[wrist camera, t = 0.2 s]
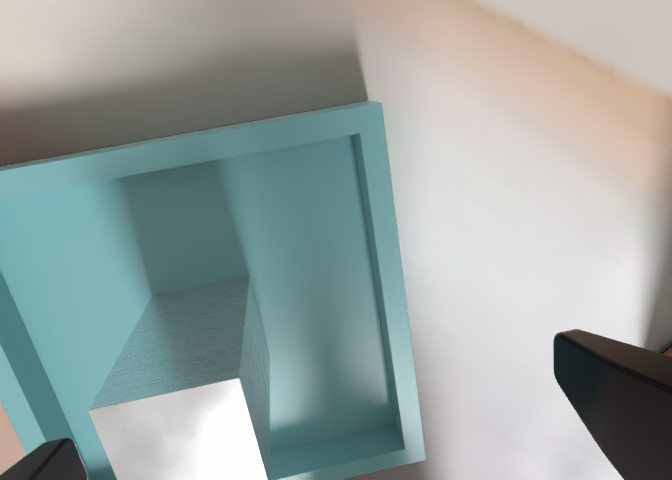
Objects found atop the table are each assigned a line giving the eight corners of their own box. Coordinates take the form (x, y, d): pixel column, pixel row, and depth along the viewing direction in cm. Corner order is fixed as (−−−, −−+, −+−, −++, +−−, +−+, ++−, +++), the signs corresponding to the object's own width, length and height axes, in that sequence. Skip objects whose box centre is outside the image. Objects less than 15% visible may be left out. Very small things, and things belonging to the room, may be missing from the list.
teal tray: (412, 426, 26) (426, 459, 24) (90, 501, 25) (71, 544, 23) (368, 100, 20) (381, 102, 18) (-58, 176, 19) (-104, 189, 17)
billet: (269, 357, 23) (269, 489, 16) (179, 377, 23) (134, 521, 15) (249, 275, 22) (238, 377, 14) (152, 295, 21) (88, 410, 14)
